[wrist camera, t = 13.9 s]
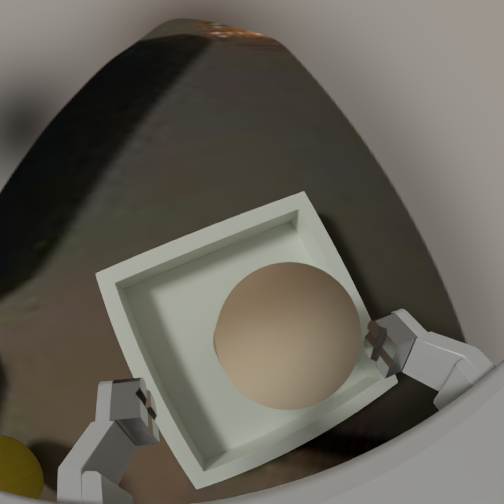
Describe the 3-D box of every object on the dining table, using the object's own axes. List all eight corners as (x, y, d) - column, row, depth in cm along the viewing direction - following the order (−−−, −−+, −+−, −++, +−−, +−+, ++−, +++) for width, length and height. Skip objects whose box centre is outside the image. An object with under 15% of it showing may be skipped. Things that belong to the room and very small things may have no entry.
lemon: (46, 428, 14) (-18, 454, 7) (69, 491, 13) (22, 536, 5) (-2, 423, 13) (-65, 438, 6) (19, 482, 12) (-32, 513, 4)
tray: (375, 379, 19) (398, 382, 16) (198, 470, 15) (196, 489, 13) (292, 210, 22) (304, 191, 19) (110, 284, 18) (95, 273, 16)
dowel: (295, 356, 18) (381, 363, 8) (231, 386, 17) (256, 434, 7) (265, 294, 19) (322, 240, 9) (201, 322, 18) (190, 297, 8)
